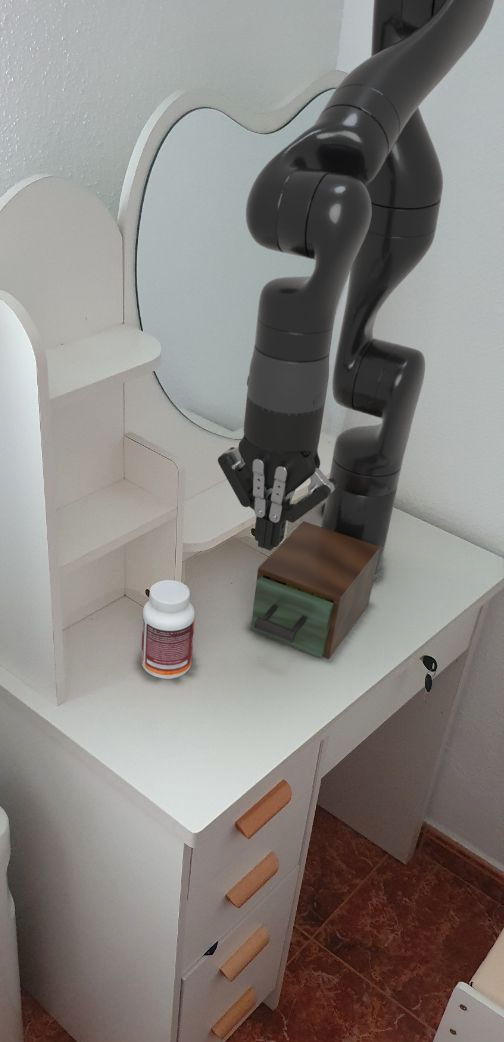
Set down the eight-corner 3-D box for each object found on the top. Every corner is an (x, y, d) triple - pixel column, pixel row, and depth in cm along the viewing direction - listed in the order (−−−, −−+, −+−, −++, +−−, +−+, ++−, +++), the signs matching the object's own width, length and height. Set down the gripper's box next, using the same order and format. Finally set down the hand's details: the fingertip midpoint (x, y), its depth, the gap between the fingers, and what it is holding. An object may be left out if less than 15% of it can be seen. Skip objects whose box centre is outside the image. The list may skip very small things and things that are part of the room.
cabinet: (329, 659, 119) (340, 597, 114) (250, 628, 123) (257, 567, 118) (368, 605, 129) (380, 546, 124) (294, 579, 133) (303, 520, 128)
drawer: (304, 680, 114) (313, 629, 110) (232, 651, 118) (237, 600, 113) (358, 608, 127) (368, 560, 123) (291, 584, 131) (298, 536, 126)
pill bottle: (201, 671, 116) (207, 598, 109) (157, 687, 113) (160, 613, 106) (174, 642, 120) (179, 570, 113) (131, 657, 117) (133, 584, 110)
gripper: (365, 398, 91) (338, 549, 101) (243, 364, 96) (229, 511, 106) (334, 426, 86) (309, 582, 96) (207, 388, 90) (196, 541, 100)
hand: (267, 545), depth 101 cm, fingers closed
